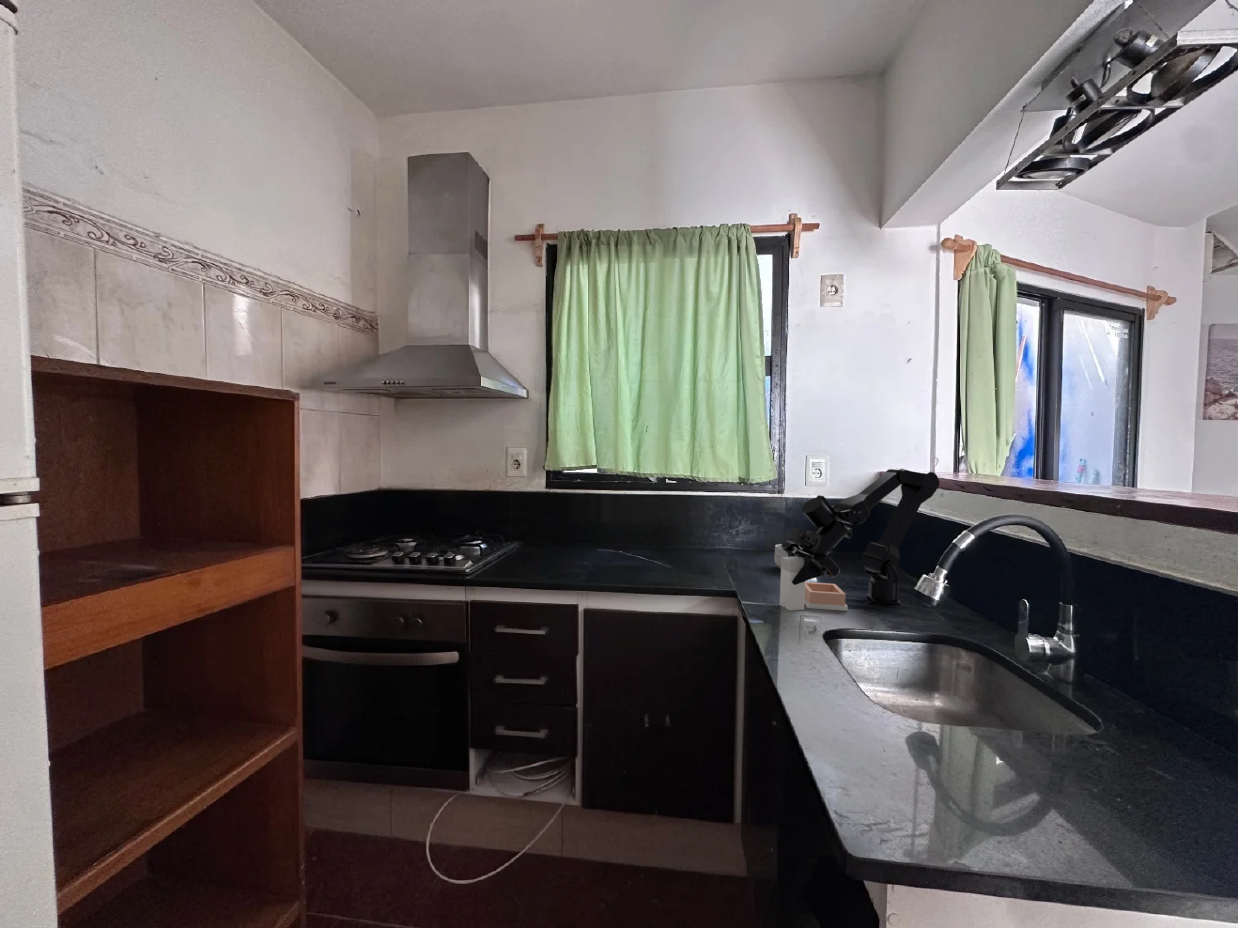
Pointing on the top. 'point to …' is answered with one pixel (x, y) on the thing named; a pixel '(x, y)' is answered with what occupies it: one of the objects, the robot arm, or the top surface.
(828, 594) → the socket
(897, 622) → the top surface
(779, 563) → the teacup
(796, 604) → the plug
